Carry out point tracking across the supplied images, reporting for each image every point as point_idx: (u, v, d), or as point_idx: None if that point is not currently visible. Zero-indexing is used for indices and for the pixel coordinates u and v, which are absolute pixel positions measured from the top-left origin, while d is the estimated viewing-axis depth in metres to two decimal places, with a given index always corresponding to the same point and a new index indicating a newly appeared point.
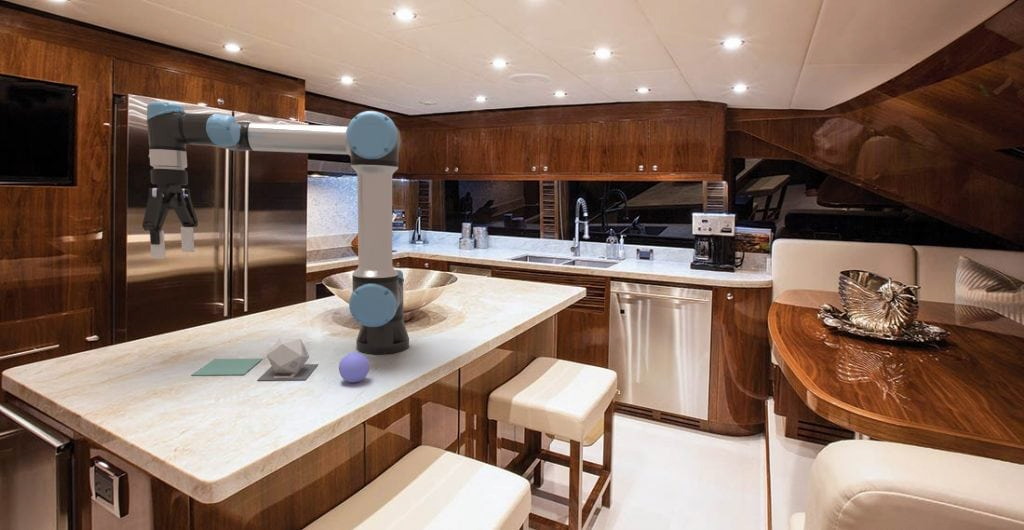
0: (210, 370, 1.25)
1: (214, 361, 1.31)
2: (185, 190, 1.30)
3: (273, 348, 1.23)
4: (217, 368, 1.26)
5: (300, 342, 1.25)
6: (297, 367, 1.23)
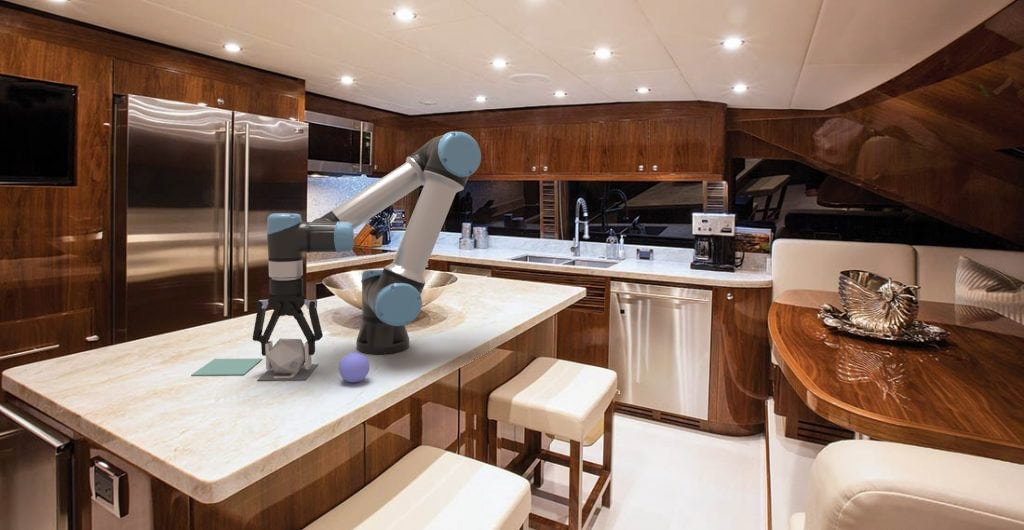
0: (210, 370, 1.25)
1: (214, 361, 1.31)
2: None
3: (273, 348, 1.23)
4: (217, 368, 1.26)
5: (300, 342, 1.25)
6: (297, 367, 1.23)
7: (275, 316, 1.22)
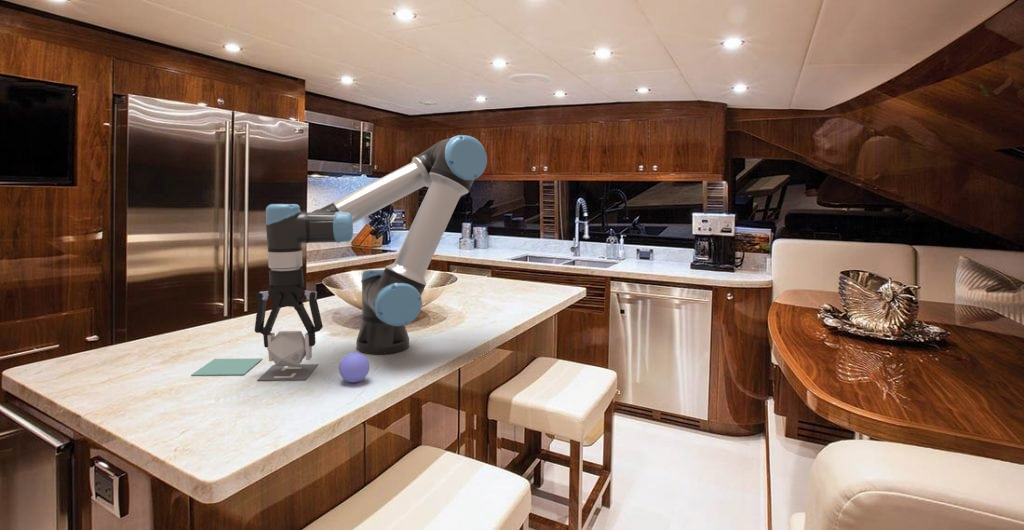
0: (210, 370, 1.25)
1: (214, 361, 1.31)
2: None
3: (273, 341, 1.22)
4: (217, 368, 1.26)
5: (300, 334, 1.25)
6: (299, 359, 1.23)
7: (276, 307, 1.21)
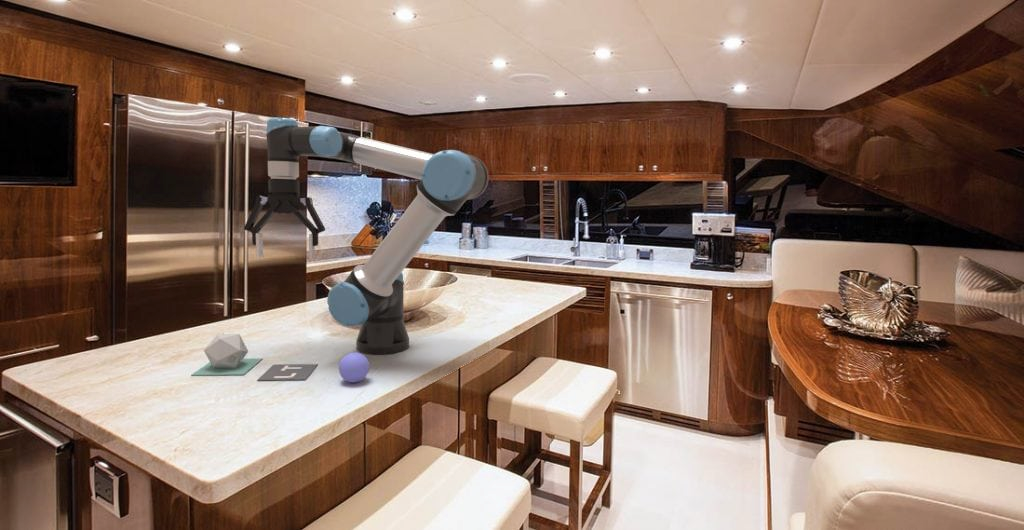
0: (210, 370, 1.25)
1: None
2: None
3: (211, 343, 1.25)
4: (217, 368, 1.26)
5: (238, 337, 1.28)
6: (235, 361, 1.26)
7: (271, 211, 1.34)
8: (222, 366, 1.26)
